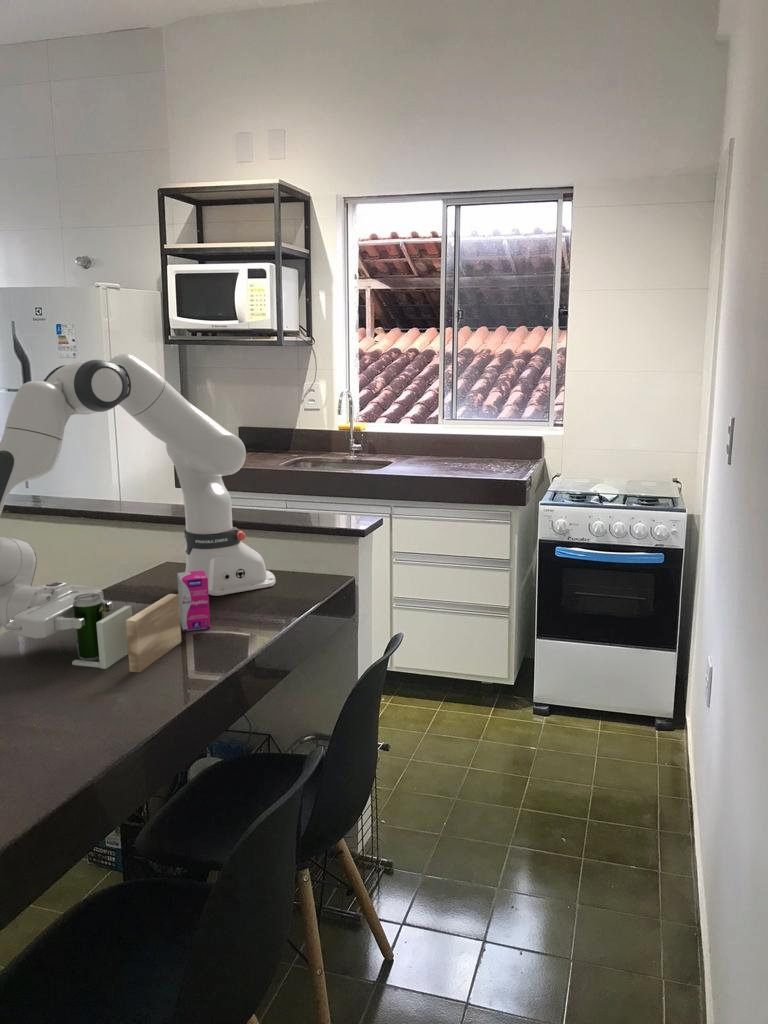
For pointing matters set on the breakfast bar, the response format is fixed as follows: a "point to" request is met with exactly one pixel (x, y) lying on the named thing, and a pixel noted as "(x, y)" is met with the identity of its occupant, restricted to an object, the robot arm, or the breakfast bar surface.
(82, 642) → the beer can
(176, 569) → the breakfast bar surface
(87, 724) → the breakfast bar surface
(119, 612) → the white legged plate
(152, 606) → the oak board
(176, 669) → the breakfast bar surface
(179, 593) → the supplement box
